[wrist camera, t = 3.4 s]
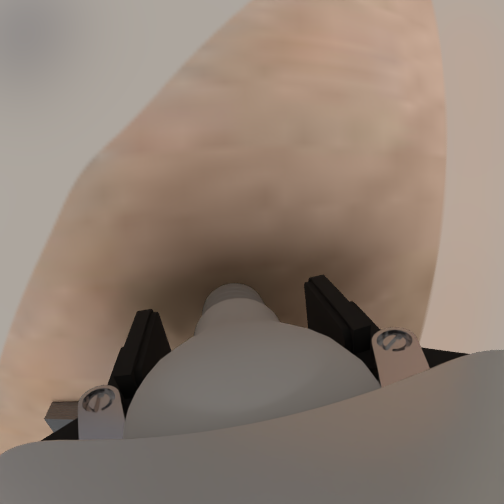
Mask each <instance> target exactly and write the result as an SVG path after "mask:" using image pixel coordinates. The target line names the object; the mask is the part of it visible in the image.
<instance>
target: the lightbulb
mask: <svg viewBox="0 0 504 504" xmlns="http://www.w3.org/2000/svg"><path fill="white" fill-rule="evenodd" d="M379 388H381V385H380V384H379V382H378V381H377V380H376V378H375V377H374V376H373V374H372V373H371V372H370V370H369V369H368V368H367V366H366V365H365V364H364V363H363V361H362V360H360V359H359V358H358V357H356V356H355V355H353V354H352V353H351V352H349V351H348V350H347V349H345V348H344V347H342V346H341V345H340V344H338V343H337V342H335V341H334V340H333V339H331V338H330V337H327V336H325V335H323V334H320V333H318V332H315V331H313V330H311V329H307V328H303V327H299V326H295V325H291V324H286V323H282V322H280V321H279V319H278V318H277V316H276V315H275V313H274V312H273V311H272V310H271V309H270V308H268V307H267V306H265V304H264V302H263V300H262V299H261V298H260V296H259V294H258V293H257V292H256V291H255V290H254V289H252V288H251V287H249V286H247V285H243V284H239V283H231V284H225V285H222V286H220V287H218V288H216V289H215V290H214V291H212V292H211V294H210V295H209V296H208V297H207V299H206V301H205V304H204V307H203V313H202V317H201V318H200V319H199V321H198V323H197V325H196V328H195V332H194V336H193V337H191V338H190V339H188V340H187V341H185V342H184V343H182V344H181V345H179V346H178V347H177V348H175V349H174V350H173V351H171V352H170V353H169V354H167V355H166V356H165V357H163V358H162V359H161V360H159V362H158V363H157V364H156V365H155V366H154V367H153V369H152V370H151V371H150V372H149V373H148V374H147V376H146V377H145V379H144V380H143V382H142V383H141V385H140V386H139V388H138V390H137V391H136V393H135V395H134V397H133V399H132V402H131V404H130V406H129V408H128V412H127V416H126V420H125V424H124V431H123V439H133V438H149V437H161V436H172V435H181V434H190V433H198V432H205V431H212V430H219V429H225V428H231V427H236V426H242V425H247V424H252V423H257V422H262V421H267V420H271V419H276V418H280V417H284V416H289V415H293V414H297V413H301V412H304V411H308V410H312V409H316V408H319V407H323V406H326V405H330V404H333V403H336V402H339V401H343V400H346V399H349V398H352V397H355V396H358V395H361V394H364V393H367V392H370V391H373V390H376V389H379Z"/></svg>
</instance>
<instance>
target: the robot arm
mask: <svg viewBox="0 0 504 504" xmlns="http://www.w3.org/2000/svg"><path fill="white" fill-rule="evenodd" d="M304 289H305V299H306V309H307V320H308V329H311V330H313V331H315V332H318V333H320V334H323V335H325V336H327V337H330V338H331V339H333V340H334V341H335V342H337V343H338V344H340V345H341V346H342V347H344V348H345V349H347V350H348V351H349V352H351V353H352V354H353V355H355V356H356V357H358V358H359V359H360V360H362V361H363V363H364V364H365V365H366V366H367V368H368V369H369V370H370V372H371V373H372V374H373V376H374V377H375V378H376V380H377V381H378V382H379V384H380V385H381V388H379V389H376V390H373V391H370V392H367V393H364V394H361V395H358V396H355V397H352V398H349V399H346V400H343V401H339V402H336V403H333V404H330V405H326V406H323V407H319V408H316V409H312V410H308V411H304V412H301V413H297V414H293V415H289V416H284V417H280V418H276V419H271V420H267V421H262V422H257V423H252V424H247V425H242V426H236V427H231V428H225V429H219V430H212V431H205V432H198V433H190V434H181V435H172V436H161V437H149V438H133V439H123V431H124V424H125V420H126V416H127V412H128V408H129V406H130V404H131V402H132V399H133V397H134V395H135V393H136V391H137V390H138V388H139V386H140V385H141V383H142V382H143V380H144V379H145V377H146V376H147V374H148V373H149V372H150V371H151V370H152V369H153V367H154V366H155V365H156V364H157V363H158V362H159V360H161V359H162V358H163V357H165V356H166V355H167V354H169V353H170V352H171V349H170V346H169V343H168V340H167V337H166V334H165V331H164V328H163V325H162V322H161V319H160V316H159V313H158V312H153V310H152V309H149V310H143V311H138V312H137V313H136V316H135V318H134V321H133V324H132V326H131V329H130V331H129V334H128V337H127V339H126V342H125V345H124V347H122V348H121V349H120V352H119V354H118V357H117V360H116V362H115V365H114V368H113V371H112V374H111V376H110V379H109V382H108V385H101V386H97V387H94V388H92V389H90V390H88V391H87V392H85V393H84V394H83V395H82V396H81V398H80V400H79V402H78V418H76V419H75V420H73V421H71V422H70V423H68V424H67V425H65V426H64V427H62V428H60V429H59V430H57V431H56V432H54V433H52V434H51V435H49V436H48V437H46V438H44V439H43V440H41V441H39V442H32V443H27V444H23V445H20V446H16V447H14V448H11V449H9V450H7V451H5V452H4V453H2V454H1V455H0V504H504V350H490V351H483V352H476V353H473V354H465V353H456V352H450V351H442V350H435V349H428V348H421V346H420V344H419V341H418V339H417V337H416V336H415V334H414V333H413V332H411V331H410V330H407V329H404V328H399V327H390V328H385V329H382V330H380V329H379V328H378V327H377V326H376V325H375V324H374V323H373V322H372V320H371V319H370V318H369V317H368V316H367V315H366V314H365V313H364V312H363V311H362V310H361V309H360V308H359V307H358V306H357V305H356V304H355V303H354V302H353V301H351V302H349V301H348V300H347V299H346V298H345V297H344V296H343V294H342V293H341V292H340V291H339V290H338V289H337V288H336V287H335V286H334V285H333V284H332V283H331V282H330V281H329V280H328V279H327V278H326V277H325V276H324V275H320V276H315V277H311V278H309V280H308V282H305V283H304Z"/></svg>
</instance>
